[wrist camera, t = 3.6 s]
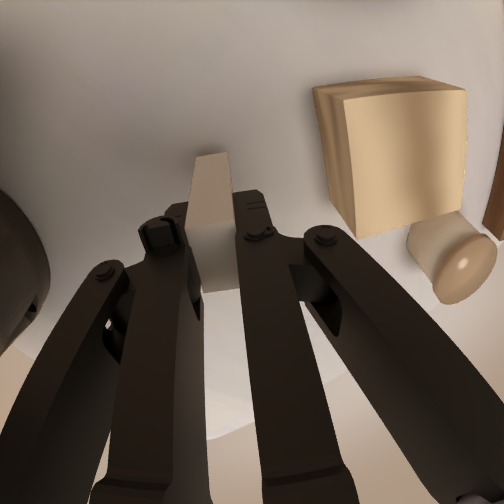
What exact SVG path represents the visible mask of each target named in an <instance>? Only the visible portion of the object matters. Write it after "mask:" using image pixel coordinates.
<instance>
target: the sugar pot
mask: <svg viewBox="0 0 504 504" xmlns="http://www.w3.org/2000/svg"><path fill="white" fill-rule="evenodd" d="M407 248H408V251H409V253H410V254H411V256H412V257H413V258H414V260H415V261H416V262H417V264H418V265H419V266H420V268H421V269H422V270H423V272H424V273H425V274H426V276H427V277H428V279H429V280H430V281H431V283H432V284H433V291H434V293H435V295H436V296H437V298H438V299H439V301H440V302H441V303H443V304H447V305H448V304H449V305H450V304H455V303H458V302H460V301H462V300H464V299H466V298H467V297H469V296H470V295H471V294H473V293H474V292H475V291H476V290H477V289H478V288H479V287H480V286H481V285H482V284H483V283H484V282H485V280H486V279H487V278H488V276H489V275H490V273H491V271H492V269H493V267H494V265H495V262H496V258H497V246H496V244H495V243H494V242H493V241H492V240H491V239H490V238H489V237H488V236H487V235H486V234H482V233H479V232H478V231H477V230H476V229H475V228H474V227H473V226H472V225H471V224H470V223H469V222H468V221H467V220H466V219H465V218H464V217H463V216H462V215H461V214H460V213H459V212H457V211H453V212H450V213H446V214H443V215H440V216H436V217H433V218H429V219H426V220H423V221H419V222H416V223H414V224H413V225H412V227H411V229H410V231H409V234H408V238H407Z"/></svg>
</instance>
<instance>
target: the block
mask: <svg viewBox="0 0 504 504" xmlns="http://www.w3.org/2000/svg"><path fill="white" fill-rule="evenodd" d="M312 91H313V96H314V101H315V106H316V111H317V117H318V122H319V128H320V134H321V140H322V146H323V152H324V159H325V166H326V172H327V180H328V187H329V195H330V201H331V202H332V204H333V205H334V207H335V208H336V209H337V211H338V212H339V214H340V215H341V217H342V218H343V220H344V221H345V223H346V224H347V226H348V227H349V229H350V230H351V232H352V233H353V235H354V236H355V238H356V239H360V238H364V237H367V236H371V235H374V234H378V233H381V232H385V231H388V230H392V229H395V228H399V227H402V226H406V225H409V224H412V223H416V222H419V221H423V220H426V219H429V218H433V217H436V216H440V215H443V214H446V213H450V212H453V211H456V210H460V208H461V201H462V193H463V185H464V176H465V165H466V151H467V124H468V105H467V90H465V89H462V88H459V87H456V86H453V85H450V84H446V83H443V82H440V81H436V80H432V79H429V78H425V77H421V76H415V77H396V78H383V79H372V80H362V81H354V82H346V83H339V84H332V85H325V86H319V87H313V88H312Z"/></svg>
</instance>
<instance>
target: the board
mask: <svg viewBox="0 0 504 504" xmlns="http://www.w3.org/2000/svg"><path fill="white" fill-rule="evenodd" d="M482 224H483V225H484V226H485V227H486V228H487V229H488V230H489V231H490V232H491V233H492V234H493V235H494V236H495V237H496V238H497V239H498V240H499V241H502V240H504V128H503V135H502V142H501V148H500V154H499V159H498V164H497V169H496V174H495V178H494V182H493V187H492V191H491V195H490V198H489V202H488V206H487V209H486V213H485V216H484V219H483V223H482Z"/></svg>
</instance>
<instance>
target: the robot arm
mask: <svg viewBox="0 0 504 504" xmlns="http://www.w3.org/2000/svg"><path fill="white" fill-rule="evenodd" d="M138 233H139V236H140V238H141V241H142V244H143V246H144V249H145V252H146V253H145V257H144V260H143V261H141V262H139V263H137V264H135V265H132V266H130V267H127V268H124V265H123V263H122V262H120V261H119V260H107V261H104V262H102V263H100V264H99V265H97V266H96V267H94V268H93V269H92V270H91V272H90V273H89V274H88V276H87V277H86V279H85V280H84V281H83V283H82V284H81V286H80V287H79V289H78V290H77V292H76V293H75V295H74V296H73V298H72V300H71V301H70V303H69V304H68V306H67V307H66V309H65V311H64V312H63V314H62V315H61V317H60V319H59V320H58V322H57V323H56V325H55V327H54V328H53V330H52V332H51V334H50V335H49V337H48V339H47V340H46V342H45V344H44V346H43V347H42V349H41V351H40V353H39V355H38V356H37V358H36V360H35V362H34V364H33V366H32V368H31V370H30V371H29V374H28V375H27V377H26V379H25V381H24V383H23V385H22V388H21V389H20V391H19V394H18V396H17V398H16V400H15V402H14V404H13V406H12V409H11V411H10V413H9V415H8V418H7V420H6V422H5V425H4V427H3V429H2V432H1V434H0V504H87V502H88V498H89V495H90V500H89V504H213V502H212V500H211V496H210V491H209V476H208V461H207V442H206V420H205V390H204V303H203V299H202V296H201V293H200V290H201V286H202V289H203V293H208V292H215V291H222V290H229V289H235V288H240V296H241V305H242V314H243V323H244V332H245V341H246V350H247V359H248V368H249V376H250V385H251V393H252V402H253V410H254V418H255V426H256V434H257V442H258V449H259V457H260V465H261V473H262V498H263V504H360V503H359V499H358V495H357V491H356V487H355V484H354V480H353V478H352V475H351V473H350V471H349V470H348V468H347V467H346V466H345V464H344V462H343V460H342V458H341V454H340V450H339V446H338V442H337V439H336V435H335V430H334V426H333V423H332V419H331V415H330V411H329V407H328V404H327V400H326V396H325V392H324V388H323V384H322V381H321V377H320V373H319V370H318V366H317V363H316V359H315V355H314V352H313V348H312V345H311V341H310V338H309V334H308V331H307V327H306V324H305V320H304V317H303V313H302V310H301V306H300V303H299V301H304V303H305V306H306V307H307V309H308V310H309V312H310V313H311V315H312V316H313V318H314V319H315V321H316V322H317V324H318V325H319V327H320V328H321V330H322V331H323V333H324V334H325V335H326V337H327V338H328V340H329V341H330V343H331V344H332V346H333V347H334V349H335V350H336V352H337V353H338V355H339V356H340V358H341V359H342V361H343V362H344V364H345V365H346V367H347V368H348V370H349V371H350V373H351V374H352V376H353V377H354V379H355V380H356V382H357V383H358V385H359V386H360V388H361V389H362V391H363V393H364V394H365V395H366V397H367V399H368V400H369V402H370V403H371V405H372V406H373V408H374V409H375V411H376V412H377V414H378V415H379V417H380V418H381V420H382V422H383V423H384V425H385V426H386V428H387V429H388V431H389V432H390V434H391V435H392V437H393V438H394V440H395V442H396V443H397V445H398V446H399V448H400V449H401V451H402V452H403V454H404V456H405V457H406V459H407V460H408V462H409V463H410V465H411V466H412V468H413V470H414V471H415V473H416V474H417V476H418V477H419V479H420V481H421V482H422V483H423V485H424V486H425V487H426V489H427V490H428V492H429V493H430V494H431V496H432V497H433V498H434V499H435V500H436V501H437V502H438V503H439V504H504V403H503V402H502V401H501V399H500V398H499V397H498V395H497V394H496V393H495V392H494V390H493V389H492V388H491V386H490V385H489V384H488V383H487V382H486V380H485V379H484V378H483V376H482V375H480V373H479V372H478V370H477V369H476V368H475V367H474V365H473V364H472V363H471V362H470V361H469V360H468V358H467V357H466V356H465V355H464V354H463V352H461V350H460V349H459V348H458V347H457V346H456V344H455V343H454V342H453V341H452V340H451V339H450V338H449V336H448V335H447V334H446V333H445V332H444V331H443V330H442V329H441V328H440V326H439V325H438V324H437V323H436V322H435V321H434V320H433V319H432V318H431V317H430V316H429V315H428V313H427V312H426V311H425V310H424V309H423V308H422V307H421V306H420V305H419V304H418V303H417V302H416V301H415V300H414V299H413V298H412V297H411V296H410V295H409V294H408V293H407V291H406V290H405V289H404V288H403V287H402V286H401V285H400V284H399V283H398V282H397V281H396V280H395V279H394V278H393V277H392V276H391V275H390V274H389V273H388V272H387V271H386V270H385V269H384V268H383V267H382V266H380V265H379V264H378V263H377V262H376V261H375V260H374V259H373V258H372V257H371V256H370V255H369V254H368V253H367V252H366V251H365V250H364V249H363V248H362V247H361V246H360V245H359V244H357V243H356V242H355V241H354V240H353V239H352V238H351V237H350V236H349V235H348V234H347V233H346V232H344V231H343V230H341V229H340V228H338V227H335V226H331V225H319V226H314V227H312V228H310V229H308V230H307V231H306V232H305V233H304V238H293V237H287V236H284V235H281V234H279V233H278V231H277V229H276V228H275V227H274V226H273V225H272V221H271V218H270V215H269V212H268V208H267V205H266V202H265V199H264V196H263V194H262V193H261V192H259V191H258V190H256V189H255V190H249V191H242V192H236V193H233V187H232V180H231V174H230V168H229V162H228V156H227V152H222V153H216V154H210V155H205V156H199V157H197V158H196V163H195V168H194V174H193V179H192V185H191V191H190V197H189V201H188V202H182V203H177V204H172V205H171V206H170V207H169V208H168V209H167V210H166V211H165V214H164V216H159V217H155V218H152V219H150V220H148V221H146V222H145V223H144V224H143V225H141V226H140V228H139V229H138ZM49 287H50V272H49V266H48V262H47V258H46V255H45V252H44V249H43V247H42V245H41V242H40V240H39V238H38V236H37V235H36V233H35V231H34V229H33V228H32V226H31V224H30V223H29V221H28V220H27V219H26V217H25V216H24V214H23V213H22V212H21V211H20V209H19V208H18V207H17V206H16V205H15V204H14V203H13V202H12V201H11V200H10V199H9V198H8V197H7V196H6V195H5V194H4V193H2V192H1V191H0V356H1V355H2V354H3V353H4V352H5V350H6V349H7V348H8V347H9V346H10V345H11V344H12V343H13V342H14V341H15V340H16V338H17V337H18V336H19V335H20V334H21V333H22V332H23V331H24V330H25V329H26V328H27V327H28V326H29V325H30V324H31V323H32V322H33V321H34V319H35V318H36V317H37V315H38V314H39V312H40V310H41V308H42V306H43V303H44V301H45V299H46V297H47V294H48V291H49ZM108 319H109V320H110V321H111V325H110V327H109V328H108V329H106V327H105V325H106V323H107V321H108ZM110 430H111V434H110V444H109V455H108V468H107V473H106V475H105V477H104V478H103V479H101V480H100V481H98V482H97V483H95V485H94V486H93V488H92V485H93V482H94V479H95V475H96V472H97V469H98V466H99V463H100V459H101V456H102V454H103V451H104V447H105V445H106V442H107V439H108V436H109V433H110ZM91 488H92V490H91ZM90 492H91V494H90Z"/></svg>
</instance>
